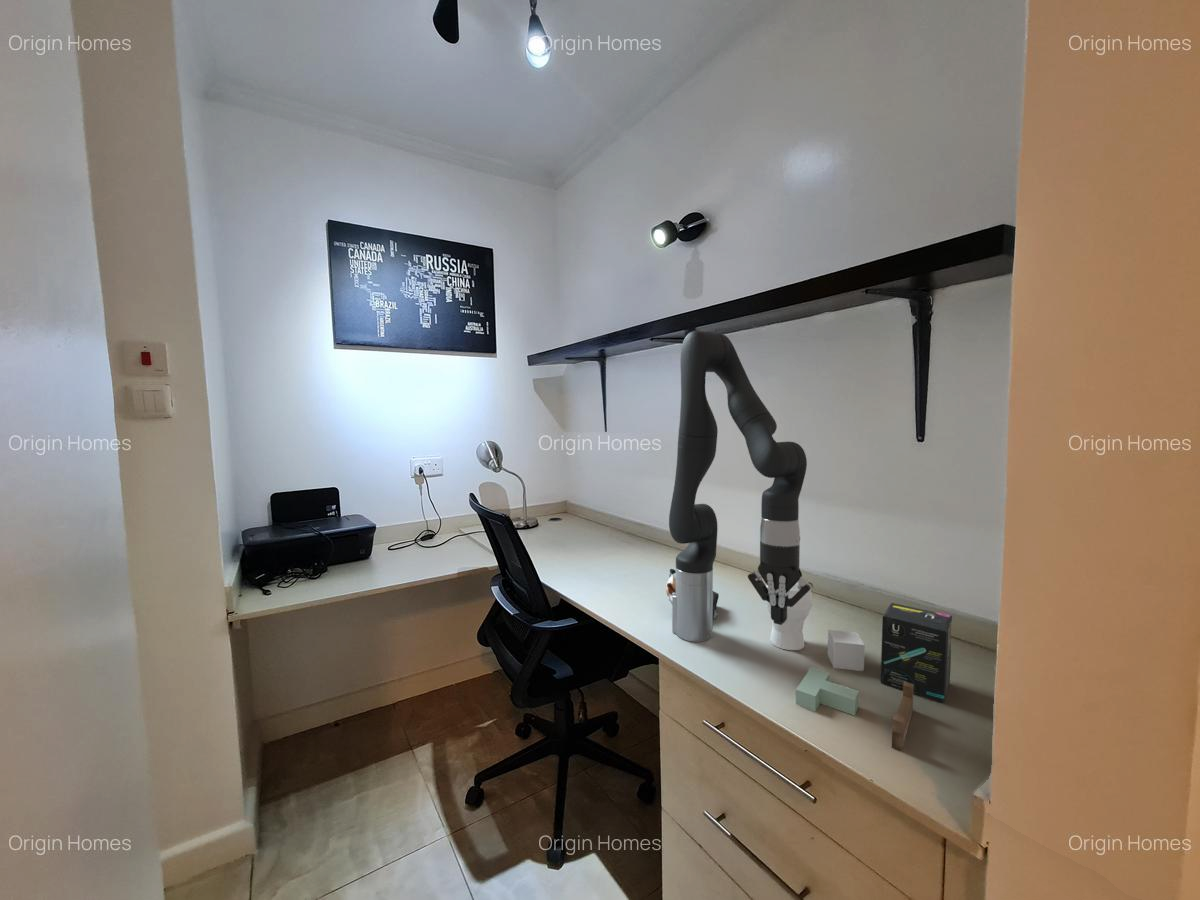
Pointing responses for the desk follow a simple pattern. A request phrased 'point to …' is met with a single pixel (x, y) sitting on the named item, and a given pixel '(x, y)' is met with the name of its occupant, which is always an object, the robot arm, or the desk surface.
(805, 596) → the cup
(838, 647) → the white cube piece
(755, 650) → the desk surface
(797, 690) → the t block
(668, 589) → the lucky cat figurine
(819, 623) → the desk surface
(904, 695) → the rail
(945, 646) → the tampon box
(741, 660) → the desk surface
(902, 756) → the desk surface
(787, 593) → the robot arm
